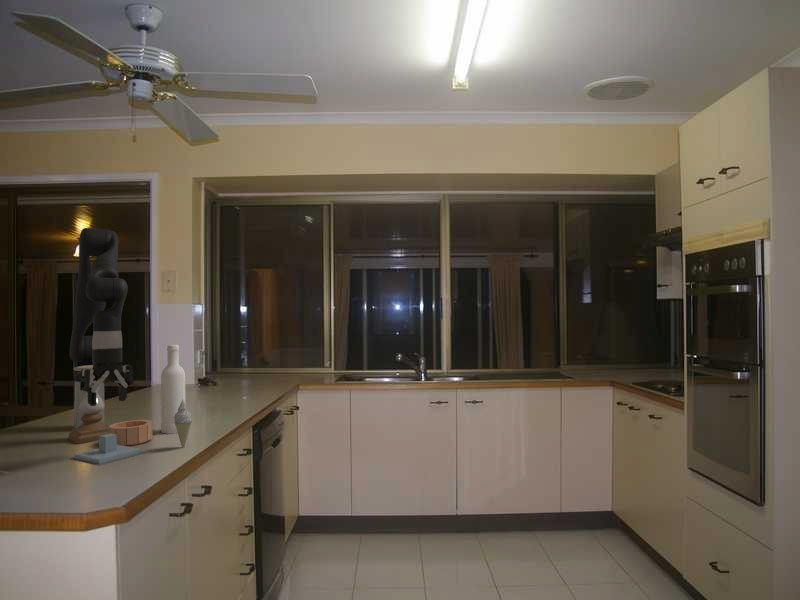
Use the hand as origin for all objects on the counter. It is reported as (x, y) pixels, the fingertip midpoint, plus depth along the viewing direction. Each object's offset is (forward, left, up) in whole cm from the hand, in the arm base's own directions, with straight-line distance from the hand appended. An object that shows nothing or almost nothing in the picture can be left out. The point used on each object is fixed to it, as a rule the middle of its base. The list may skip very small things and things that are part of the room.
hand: (107, 403), depth 149 cm
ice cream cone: (+12, +16, -16) cm, 25 cm away
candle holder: (-27, +11, -16) cm, 33 cm away
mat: (0, 0, -15) cm, 15 cm away
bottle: (-11, +30, -16) cm, 36 cm away
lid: (0, 0, -15) cm, 15 cm away
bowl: (-9, +13, -15) cm, 22 cm away
